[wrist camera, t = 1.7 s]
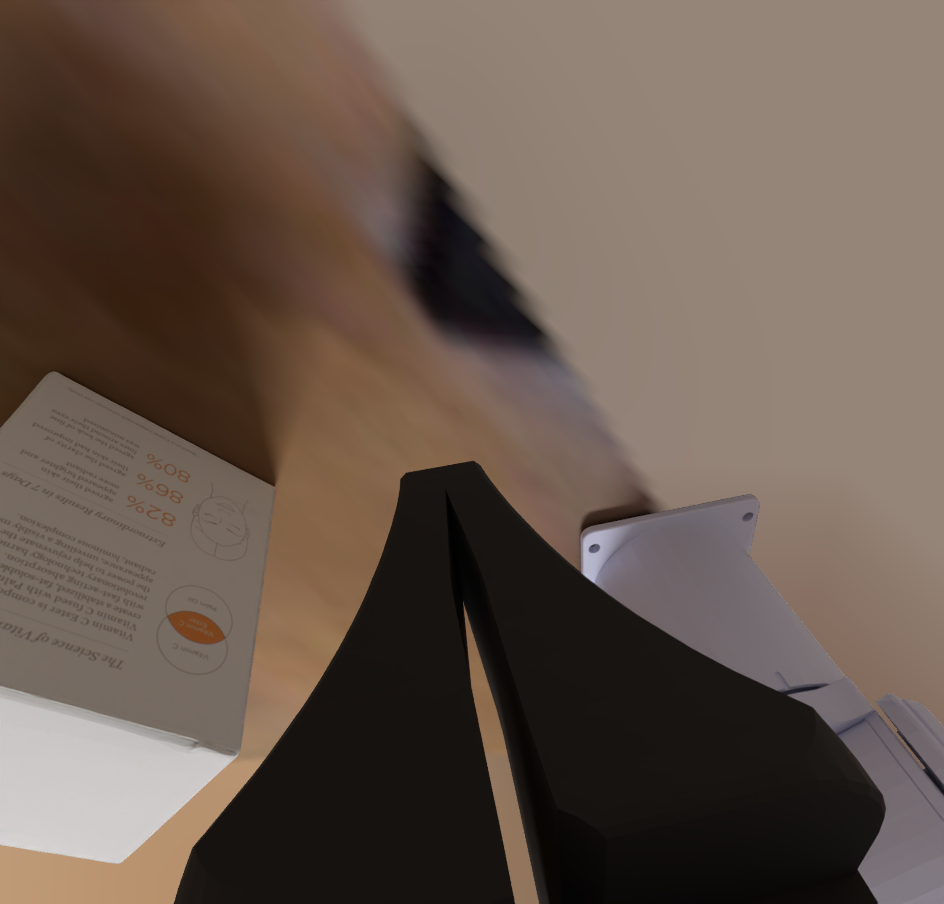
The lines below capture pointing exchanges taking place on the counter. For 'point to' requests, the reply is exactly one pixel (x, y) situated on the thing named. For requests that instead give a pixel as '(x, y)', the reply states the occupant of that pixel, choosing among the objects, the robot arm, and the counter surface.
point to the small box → (118, 620)
